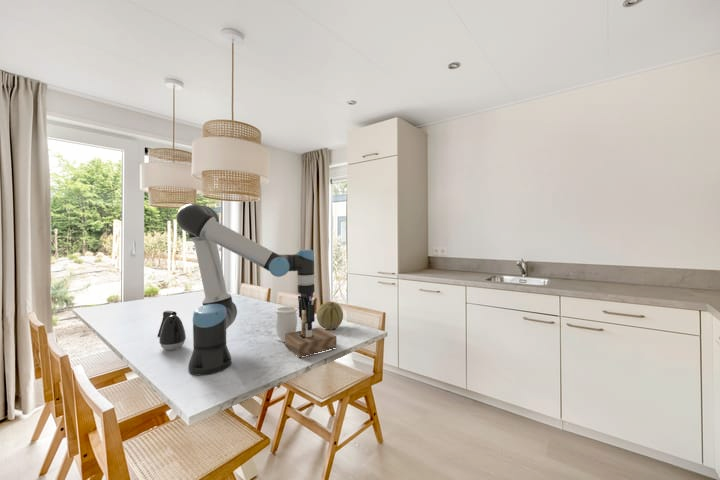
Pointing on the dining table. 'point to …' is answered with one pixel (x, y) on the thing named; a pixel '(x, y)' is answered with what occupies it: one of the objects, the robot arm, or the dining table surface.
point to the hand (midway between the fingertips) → (306, 335)
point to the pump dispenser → (172, 333)
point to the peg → (304, 323)
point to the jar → (285, 321)
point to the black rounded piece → (165, 315)
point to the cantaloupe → (329, 315)
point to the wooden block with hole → (310, 342)
